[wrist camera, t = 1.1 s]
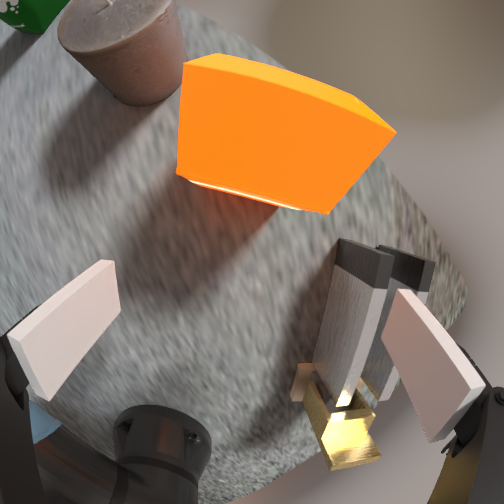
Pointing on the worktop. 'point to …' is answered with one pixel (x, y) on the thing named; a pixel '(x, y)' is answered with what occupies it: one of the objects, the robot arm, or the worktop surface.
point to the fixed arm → (351, 316)
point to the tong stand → (310, 373)
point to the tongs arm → (402, 277)
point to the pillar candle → (127, 46)
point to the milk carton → (30, 13)
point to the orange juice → (273, 134)
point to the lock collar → (342, 430)
